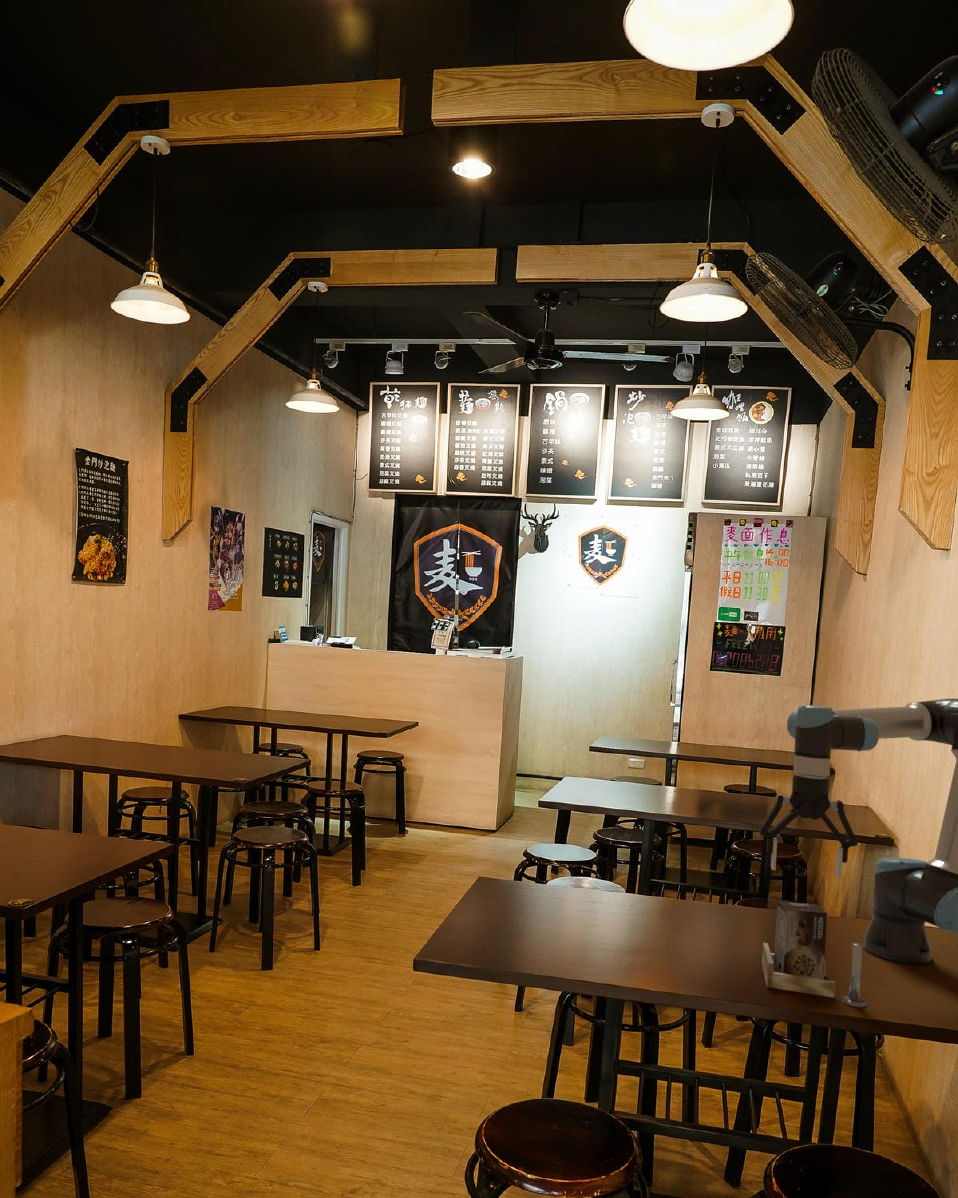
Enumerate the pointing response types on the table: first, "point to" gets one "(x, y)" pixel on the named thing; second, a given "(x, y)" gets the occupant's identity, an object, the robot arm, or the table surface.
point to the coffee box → (800, 940)
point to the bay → (794, 978)
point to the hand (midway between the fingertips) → (805, 873)
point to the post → (855, 978)
